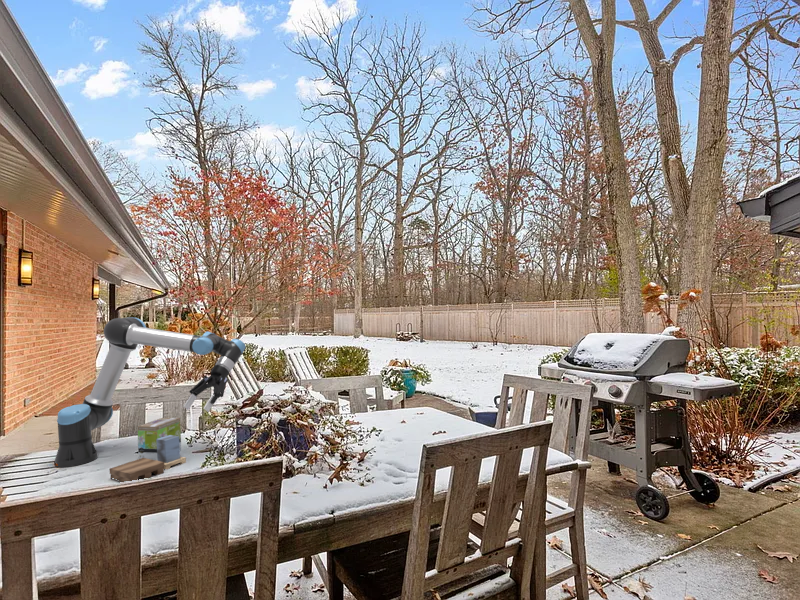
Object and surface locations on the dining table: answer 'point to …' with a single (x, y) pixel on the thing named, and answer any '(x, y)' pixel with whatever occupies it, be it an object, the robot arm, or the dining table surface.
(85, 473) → the dining table surface
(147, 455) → the tea box
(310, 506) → the dining table surface
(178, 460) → the pallet
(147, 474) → the block
